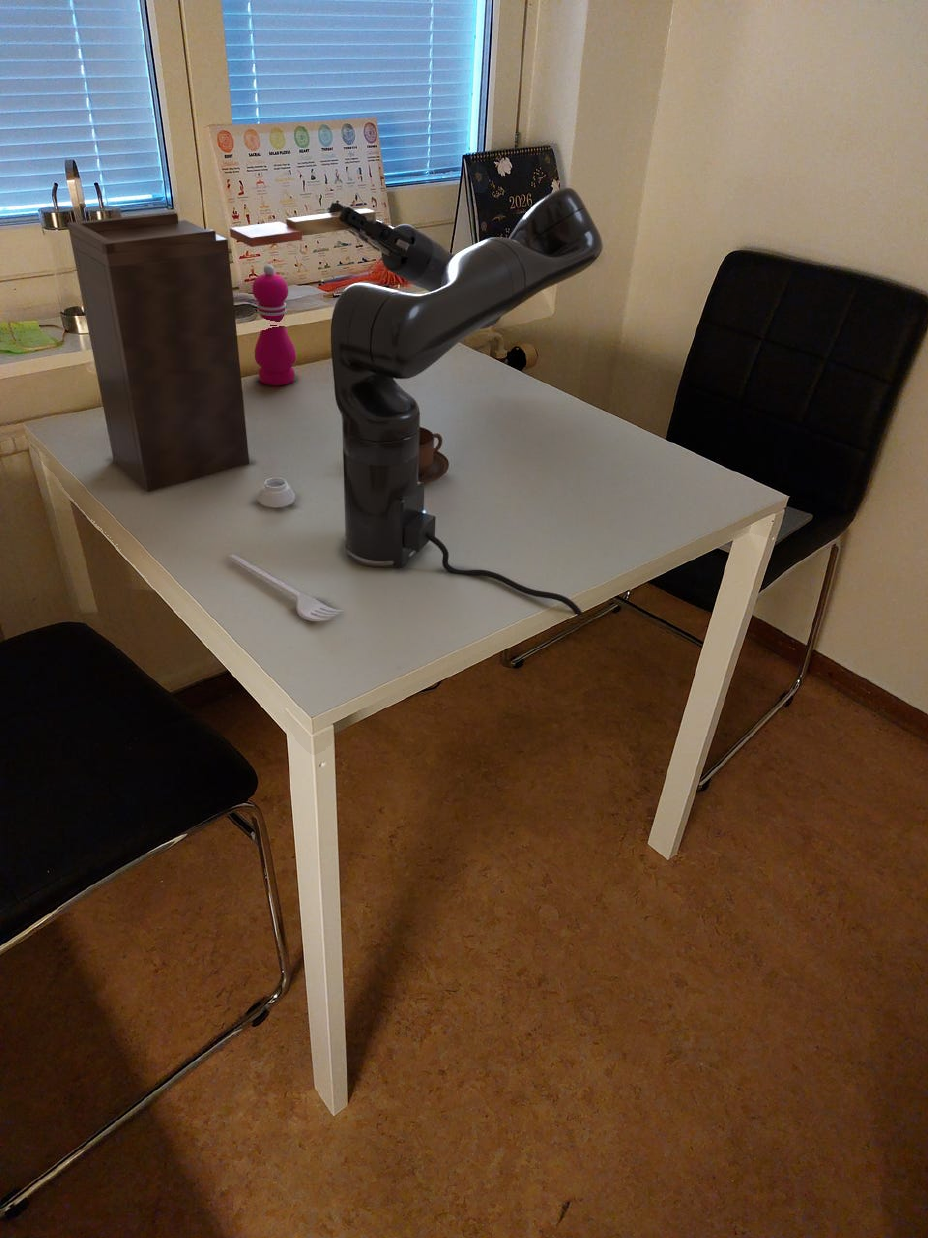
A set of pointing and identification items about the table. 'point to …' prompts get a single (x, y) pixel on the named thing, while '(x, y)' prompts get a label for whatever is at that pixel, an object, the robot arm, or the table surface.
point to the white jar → (276, 493)
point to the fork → (292, 595)
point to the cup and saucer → (430, 457)
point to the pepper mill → (273, 330)
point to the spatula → (293, 228)
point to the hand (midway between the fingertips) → (337, 210)
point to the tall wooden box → (163, 345)
